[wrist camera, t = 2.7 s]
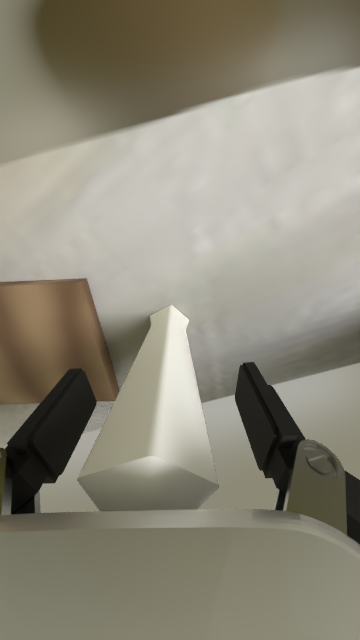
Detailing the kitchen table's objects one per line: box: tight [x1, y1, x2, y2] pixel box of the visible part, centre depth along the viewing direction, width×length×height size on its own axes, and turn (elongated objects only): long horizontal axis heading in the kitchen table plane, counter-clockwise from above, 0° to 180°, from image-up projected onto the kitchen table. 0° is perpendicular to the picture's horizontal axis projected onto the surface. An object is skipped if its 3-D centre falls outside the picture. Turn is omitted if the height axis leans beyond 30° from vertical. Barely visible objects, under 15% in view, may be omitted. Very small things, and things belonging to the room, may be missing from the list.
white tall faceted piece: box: [77, 305, 219, 511], centre depth 10 cm, size 5×4×15 cm
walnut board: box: [0, 279, 119, 404], centre depth 17 cm, size 16×14×2 cm
